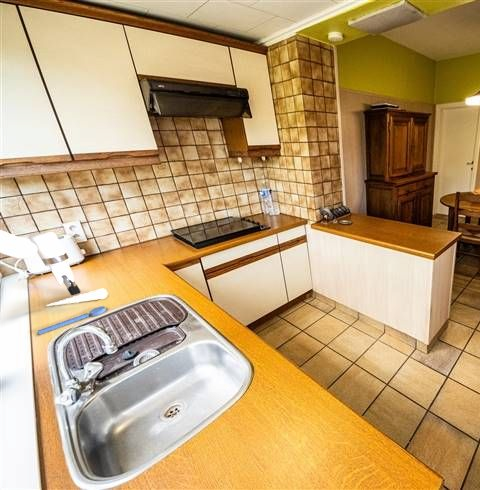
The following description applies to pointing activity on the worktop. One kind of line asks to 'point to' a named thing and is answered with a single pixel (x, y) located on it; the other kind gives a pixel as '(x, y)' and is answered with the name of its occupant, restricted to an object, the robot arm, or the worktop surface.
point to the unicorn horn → (82, 297)
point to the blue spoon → (74, 319)
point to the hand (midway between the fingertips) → (76, 293)
